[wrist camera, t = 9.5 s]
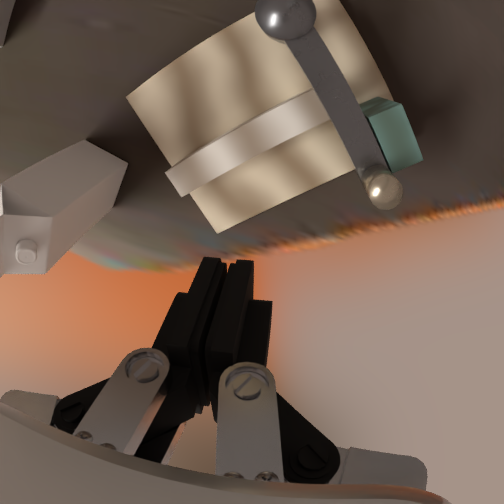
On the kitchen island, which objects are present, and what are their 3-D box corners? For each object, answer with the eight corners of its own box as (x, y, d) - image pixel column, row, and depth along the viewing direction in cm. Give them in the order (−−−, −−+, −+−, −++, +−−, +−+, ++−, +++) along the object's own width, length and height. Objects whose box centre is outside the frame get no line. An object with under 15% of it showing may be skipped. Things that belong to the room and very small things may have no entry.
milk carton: (72, 184, 38) (-26, 260, 22) (85, 138, 34) (-29, 201, 18) (112, 208, 39) (23, 299, 23) (129, 162, 35) (24, 242, 19)
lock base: (324, -16, 22) (334, -45, 15) (407, 141, 30) (440, 164, 22) (132, 96, 31) (87, 107, 23) (219, 227, 39) (201, 270, 31)
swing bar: (248, 10, 20) (237, -5, 16) (295, -13, 19) (295, -33, 14) (354, 193, 28) (366, 219, 23) (397, 173, 26) (417, 196, 21)
